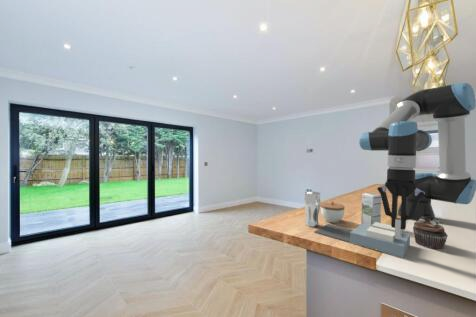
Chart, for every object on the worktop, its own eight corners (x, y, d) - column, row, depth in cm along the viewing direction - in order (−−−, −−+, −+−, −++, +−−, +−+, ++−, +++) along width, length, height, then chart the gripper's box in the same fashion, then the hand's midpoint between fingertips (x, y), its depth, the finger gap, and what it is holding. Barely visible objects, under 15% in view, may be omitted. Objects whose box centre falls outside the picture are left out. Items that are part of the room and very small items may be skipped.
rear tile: (375, 226, 88) (375, 221, 87) (399, 232, 82) (400, 227, 82) (371, 230, 84) (371, 225, 84) (397, 236, 78) (397, 230, 78)
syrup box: (381, 226, 100) (382, 194, 99) (371, 228, 98) (373, 195, 97) (369, 222, 105) (370, 192, 104) (360, 223, 103) (361, 193, 102)
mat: (328, 224, 101) (328, 223, 101) (361, 233, 91) (361, 232, 91) (314, 232, 91) (314, 231, 91) (349, 242, 81) (349, 241, 81)
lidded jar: (331, 225, 100) (332, 205, 100) (315, 218, 110) (316, 200, 109) (349, 223, 104) (349, 203, 104) (331, 216, 114) (332, 198, 114)
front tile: (370, 231, 82) (370, 226, 82) (396, 237, 77) (396, 232, 76) (365, 235, 78) (366, 230, 78) (392, 242, 73) (393, 236, 73)
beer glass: (304, 226, 98) (305, 193, 97) (303, 221, 105) (304, 190, 104) (320, 228, 96) (321, 194, 96) (318, 223, 103) (319, 191, 102)
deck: (361, 233, 91) (361, 223, 91) (409, 245, 80) (410, 234, 80) (349, 242, 81) (350, 232, 81) (403, 258, 70) (403, 246, 70)
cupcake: (414, 246, 79) (415, 219, 79) (411, 237, 88) (412, 212, 87) (450, 253, 74) (451, 224, 74) (443, 243, 82) (445, 217, 82)
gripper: (375, 167, 75) (373, 235, 76) (425, 170, 66) (421, 247, 67) (380, 166, 80) (378, 229, 81) (427, 169, 71) (424, 240, 72)
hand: (397, 237), depth 74 cm, fingers closed
